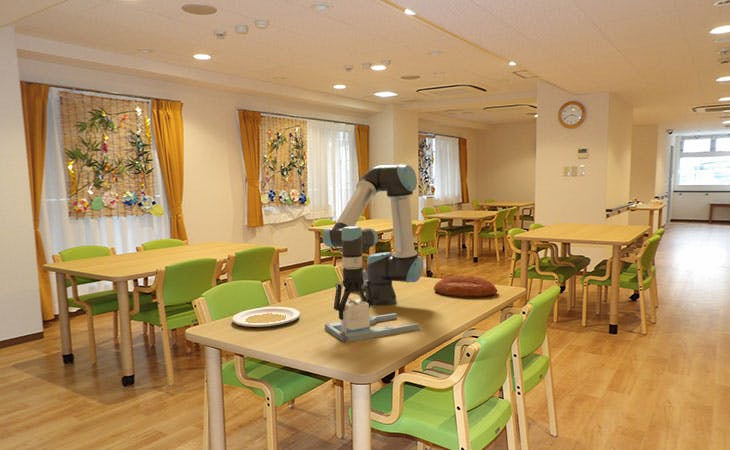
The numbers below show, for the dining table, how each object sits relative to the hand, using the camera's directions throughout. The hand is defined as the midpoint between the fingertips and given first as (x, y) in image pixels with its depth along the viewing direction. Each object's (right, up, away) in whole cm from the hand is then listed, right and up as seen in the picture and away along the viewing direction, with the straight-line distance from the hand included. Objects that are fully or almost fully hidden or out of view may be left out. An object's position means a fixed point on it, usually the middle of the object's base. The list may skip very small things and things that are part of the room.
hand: (354, 325), depth 193 cm
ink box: (0, -3, -1) cm, 3 cm away
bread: (+54, +4, +60) cm, 81 cm away
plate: (-38, -2, +21) cm, 43 cm away
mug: (0, +4, +75) cm, 76 cm away
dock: (+7, -2, +4) cm, 8 cm away
